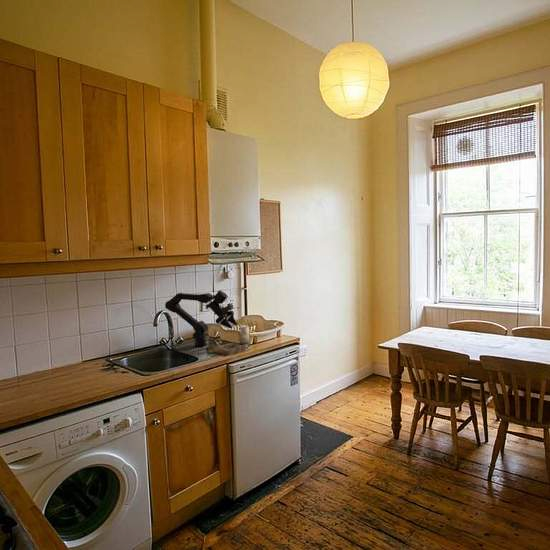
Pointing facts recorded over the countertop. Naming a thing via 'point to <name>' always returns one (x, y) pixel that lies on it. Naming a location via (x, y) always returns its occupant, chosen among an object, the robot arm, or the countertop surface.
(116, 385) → the countertop surface
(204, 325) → the robot arm
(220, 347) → the walnut board
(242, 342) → the cream leg
